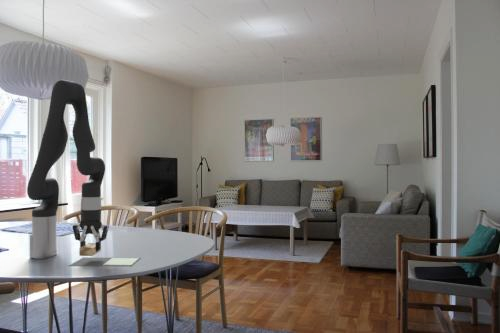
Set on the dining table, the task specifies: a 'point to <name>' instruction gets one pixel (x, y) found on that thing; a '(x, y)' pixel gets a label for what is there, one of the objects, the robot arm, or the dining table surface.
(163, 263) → the dining table surface
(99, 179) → the robot arm
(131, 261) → the mat
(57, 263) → the dining table surface
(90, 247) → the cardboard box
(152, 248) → the dining table surface
